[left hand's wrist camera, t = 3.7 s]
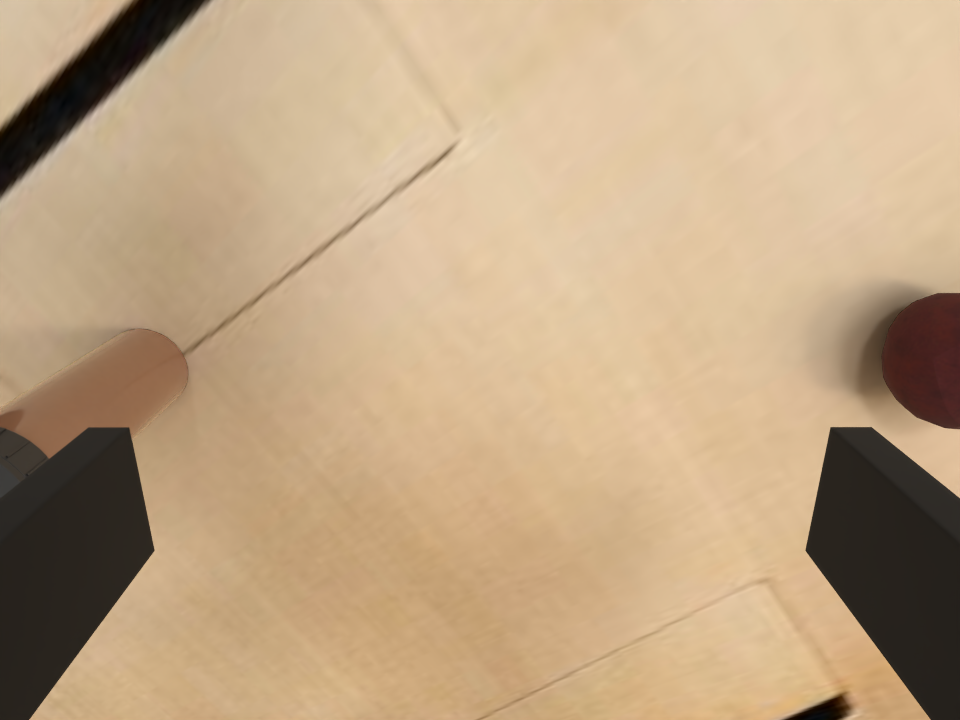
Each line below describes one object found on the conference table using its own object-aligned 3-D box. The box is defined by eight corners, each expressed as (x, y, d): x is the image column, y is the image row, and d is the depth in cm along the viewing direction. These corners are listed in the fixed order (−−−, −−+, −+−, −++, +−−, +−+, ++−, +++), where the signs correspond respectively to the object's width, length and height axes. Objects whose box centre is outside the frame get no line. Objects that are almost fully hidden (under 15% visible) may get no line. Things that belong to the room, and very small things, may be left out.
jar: (145, 312, 41) (-42, 424, 26) (205, 375, 42) (61, 514, 28) (87, 359, 42) (-123, 492, 27) (148, 420, 43) (-20, 576, 29)
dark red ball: (884, 416, 43) (958, 472, 36) (836, 320, 41) (905, 360, 34) (996, 356, 41) (1094, 403, 35) (953, 253, 39) (1049, 283, 33)
